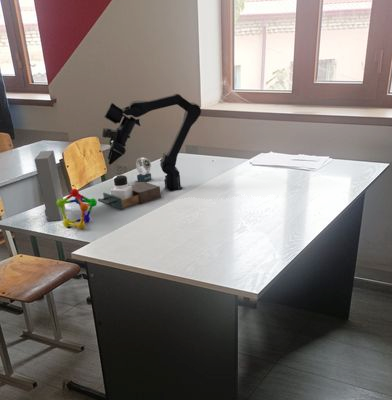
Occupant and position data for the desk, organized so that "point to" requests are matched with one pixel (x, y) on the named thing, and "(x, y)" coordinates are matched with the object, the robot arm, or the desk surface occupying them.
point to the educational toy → (83, 208)
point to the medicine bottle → (121, 187)
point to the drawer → (119, 200)
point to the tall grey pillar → (49, 184)
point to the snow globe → (142, 176)
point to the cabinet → (146, 191)
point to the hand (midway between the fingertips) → (109, 161)
